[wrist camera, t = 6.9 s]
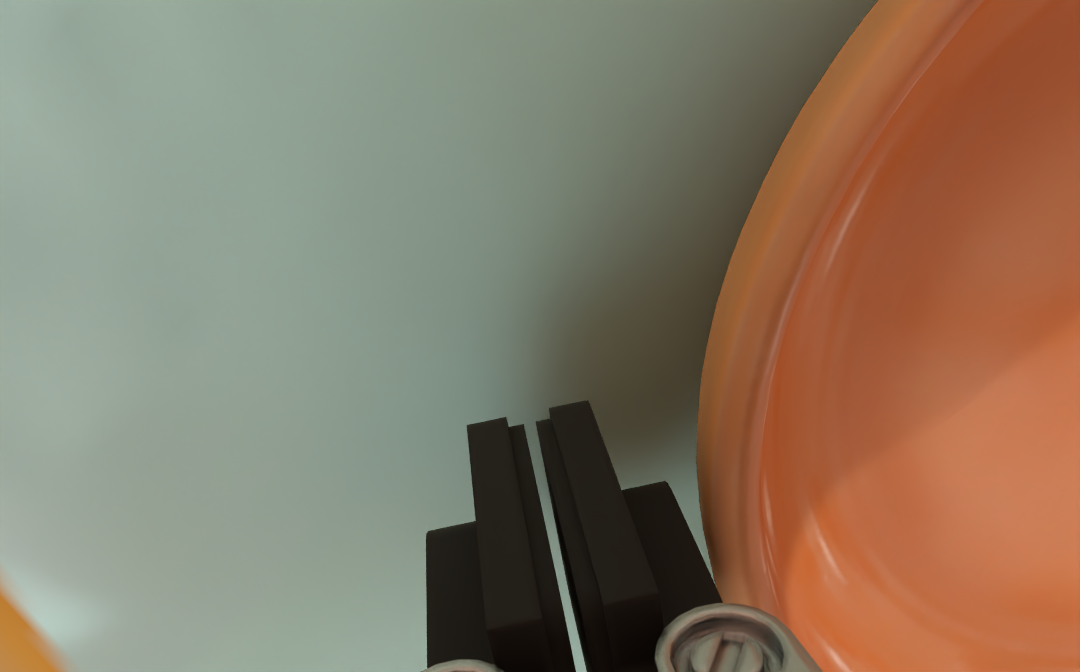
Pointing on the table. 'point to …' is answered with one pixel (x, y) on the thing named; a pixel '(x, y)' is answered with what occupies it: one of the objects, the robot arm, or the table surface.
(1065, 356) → the saucer
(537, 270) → the table surface
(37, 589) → the table surface
